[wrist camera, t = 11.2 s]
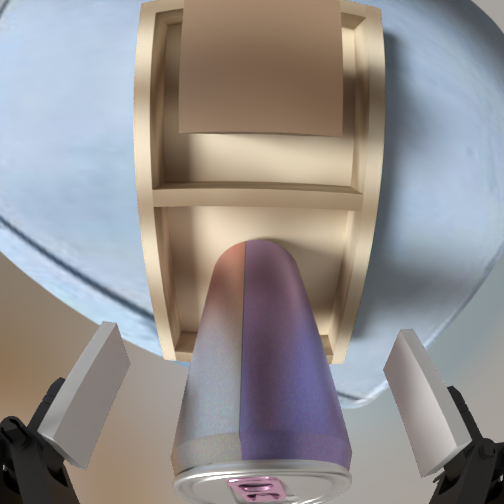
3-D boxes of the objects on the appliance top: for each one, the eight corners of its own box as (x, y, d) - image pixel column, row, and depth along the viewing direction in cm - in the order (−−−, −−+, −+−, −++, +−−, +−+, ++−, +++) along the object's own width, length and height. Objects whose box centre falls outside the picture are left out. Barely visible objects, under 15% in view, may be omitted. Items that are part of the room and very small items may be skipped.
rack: (158, 20, 13) (141, 3, 10) (362, 24, 13) (380, 8, 10) (173, 333, 23) (164, 359, 20) (334, 337, 23) (343, 363, 20)
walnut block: (219, 59, 14) (184, -3, 6) (301, 61, 14) (339, 0, 6) (218, 134, 16) (178, 133, 8) (300, 136, 16) (341, 137, 8)
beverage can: (291, 227, 18) (369, 447, 5) (303, 302, 21) (351, 501, 7) (203, 245, 19) (128, 463, 5) (225, 316, 21) (204, 514, 8)
